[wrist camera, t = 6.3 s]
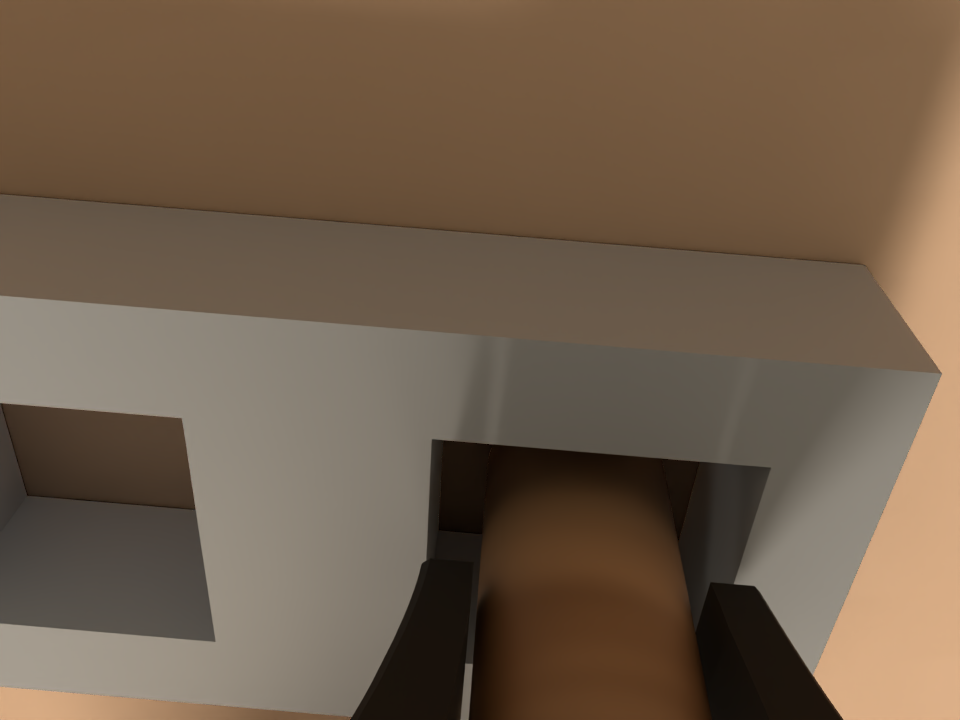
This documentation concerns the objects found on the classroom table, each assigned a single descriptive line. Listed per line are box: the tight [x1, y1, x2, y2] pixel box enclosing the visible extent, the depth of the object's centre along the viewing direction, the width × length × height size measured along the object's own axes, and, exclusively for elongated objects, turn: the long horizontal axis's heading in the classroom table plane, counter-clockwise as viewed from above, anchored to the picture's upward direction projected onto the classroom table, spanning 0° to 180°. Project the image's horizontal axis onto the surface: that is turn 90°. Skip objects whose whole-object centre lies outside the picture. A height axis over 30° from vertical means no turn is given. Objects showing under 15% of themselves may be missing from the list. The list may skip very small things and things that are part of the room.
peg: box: [469, 444, 712, 720], centre depth 12 cm, size 3×3×8 cm
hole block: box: [0, 194, 942, 720], centre depth 14 cm, size 8×16×3 cm, turn 87°
